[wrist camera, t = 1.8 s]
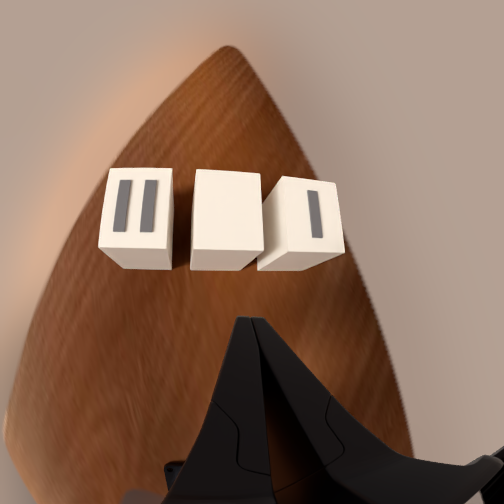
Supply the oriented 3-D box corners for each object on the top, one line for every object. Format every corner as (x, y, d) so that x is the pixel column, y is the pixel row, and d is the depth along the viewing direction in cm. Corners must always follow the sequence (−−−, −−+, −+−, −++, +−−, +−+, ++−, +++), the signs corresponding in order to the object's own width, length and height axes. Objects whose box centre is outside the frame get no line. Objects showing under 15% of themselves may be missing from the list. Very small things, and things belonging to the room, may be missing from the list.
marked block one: (301, 270, 24) (346, 252, 17) (257, 270, 23) (289, 250, 16) (297, 214, 25) (335, 179, 18) (255, 211, 24) (282, 171, 17)
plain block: (239, 270, 22) (263, 250, 16) (190, 270, 21) (193, 249, 15) (238, 212, 24) (260, 173, 17) (191, 210, 23) (196, 169, 16)
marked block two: (171, 269, 21) (166, 247, 14) (123, 268, 20) (97, 246, 13) (174, 207, 22) (172, 163, 16) (128, 207, 21) (110, 163, 15)
